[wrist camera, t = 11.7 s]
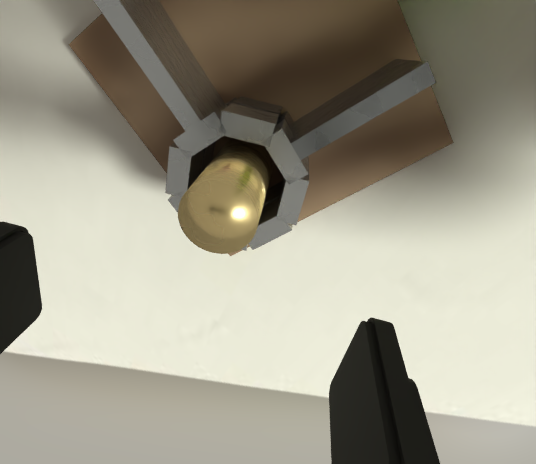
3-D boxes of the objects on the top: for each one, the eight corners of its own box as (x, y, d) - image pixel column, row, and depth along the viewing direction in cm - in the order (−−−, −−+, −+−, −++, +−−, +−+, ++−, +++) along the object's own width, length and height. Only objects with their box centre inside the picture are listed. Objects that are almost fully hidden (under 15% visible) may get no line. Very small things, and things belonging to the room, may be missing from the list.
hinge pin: (284, 165, 24) (273, 232, 15) (243, 189, 25) (210, 265, 16) (256, 120, 23) (226, 164, 14) (214, 148, 24) (161, 205, 15)
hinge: (422, 122, 22) (460, 145, 17) (236, 223, 27) (220, 266, 21) (311, -142, 17) (315, -231, 11) (105, 41, 21) (40, 38, 16)
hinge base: (447, 139, 23) (453, 142, 22) (232, 249, 29) (230, 256, 28) (321, -179, 17) (322, -191, 16) (77, 44, 23) (68, 44, 22)
